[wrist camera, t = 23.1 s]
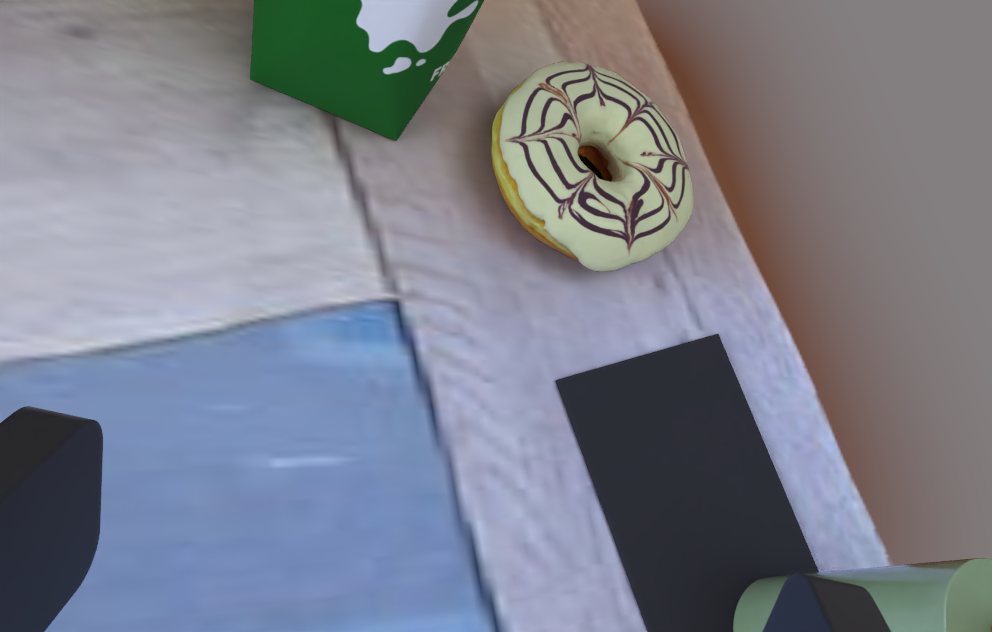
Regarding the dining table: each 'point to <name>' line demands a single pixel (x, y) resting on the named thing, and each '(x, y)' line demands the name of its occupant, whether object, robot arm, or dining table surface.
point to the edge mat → (684, 483)
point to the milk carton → (358, 54)
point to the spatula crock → (897, 596)
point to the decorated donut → (609, 147)
